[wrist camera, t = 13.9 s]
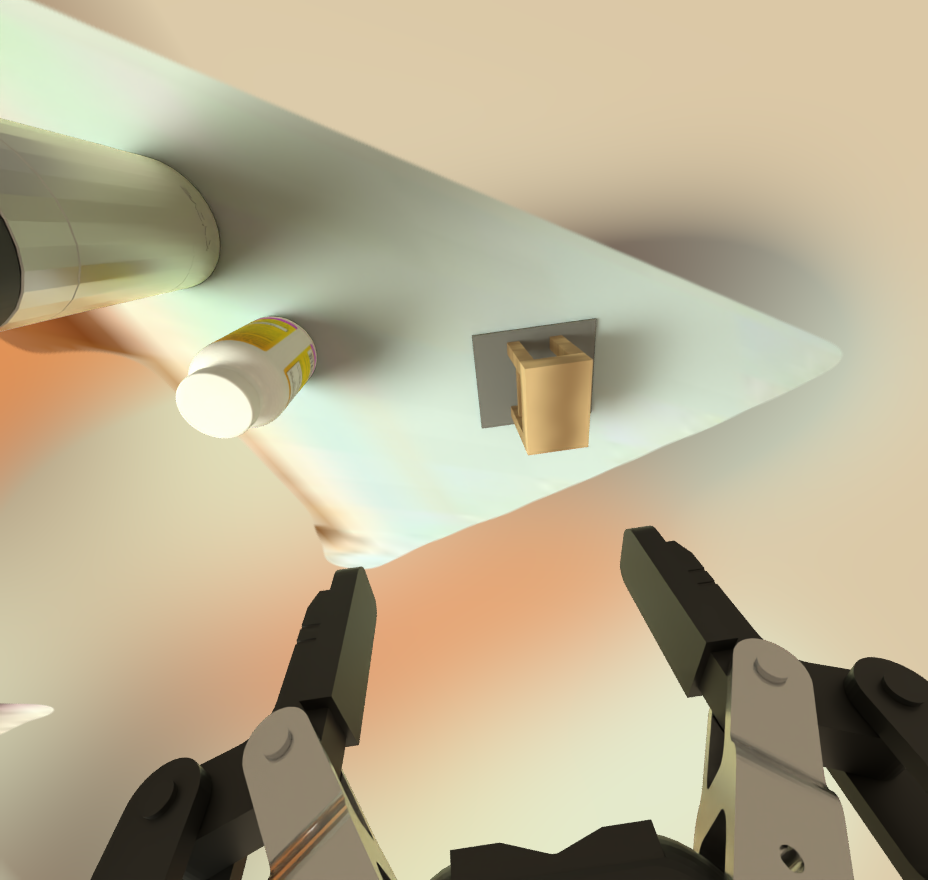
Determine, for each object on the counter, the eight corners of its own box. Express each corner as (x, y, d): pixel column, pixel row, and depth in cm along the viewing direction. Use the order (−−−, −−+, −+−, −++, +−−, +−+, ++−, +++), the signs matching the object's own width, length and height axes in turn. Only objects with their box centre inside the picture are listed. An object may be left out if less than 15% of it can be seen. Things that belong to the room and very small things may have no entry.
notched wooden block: (511, 416, 40) (528, 455, 33) (506, 342, 36) (525, 369, 29) (560, 409, 40) (588, 446, 33) (561, 335, 36) (593, 359, 29)
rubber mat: (481, 426, 41) (482, 428, 41) (471, 335, 36) (472, 336, 36) (589, 411, 41) (590, 413, 41) (594, 318, 36) (596, 319, 36)
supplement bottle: (228, 336, 34) (131, 387, 23) (286, 300, 33) (213, 336, 22) (278, 395, 37) (214, 465, 26) (333, 364, 36) (290, 424, 25)
